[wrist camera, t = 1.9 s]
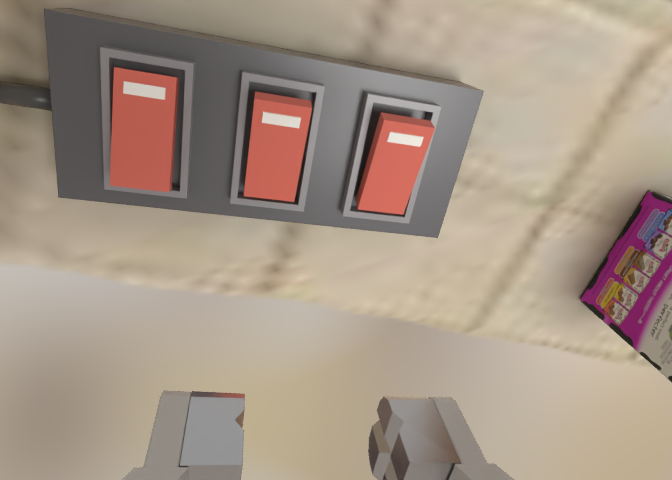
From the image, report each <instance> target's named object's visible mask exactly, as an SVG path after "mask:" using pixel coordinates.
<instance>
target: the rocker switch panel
mask: <svg viewBox="0 0 672 480" xmlns="http://www.w3.org/2000/svg"><path fill="white" fill-rule="evenodd" d="M44 14H45V27H46V41H47V54H48V67H49V80H50V89H47V88H41V87H34V86H28V85H21V84H15V83H8V82H1V81H0V103H3V104H10V105H17V106H24V107H31V108H38V109H45V110H52V119H53V133H54V146H55V159H56V172H57V185H58V197H60V198H70V199H79V200H88V201H98V202H107V203H116V204H126V205H135V206H145V207H154V208H163V209H173V210H182V211H191V212H201V213H210V214H219V215H229V216H238V217H247V218H257V219H266V220H276V221H285V222H294V223H304V224H313V225H322V226H332V227H341V228H350V229H360V230H369V231H378V232H388V233H397V234H407V235H416V236H425V237H435V238H438V236H439V233H440V229H441V226H442V223H443V220H444V217H445V213H446V210H447V207H448V204H449V201H450V197H451V194H452V191H453V188H454V185H455V181H456V178H457V175H458V172H459V169H460V165H461V162H462V159H463V156H464V153H465V149H466V146H467V143H468V140H469V137H470V134H471V130H472V127H473V124H474V121H475V118H476V114H477V111H478V108H479V105H480V102H481V98H482V95H483V92H484V91H482V90H480V89H477V88H475V87H472V86H470V85H467V84H464V83H462V82H457V81H452V80H447V79H441V78H436V77H431V76H425V75H420V74H415V73H410V72H404V71H399V70H394V69H388V68H383V67H378V66H372V65H367V64H362V63H357V62H351V61H346V60H341V59H335V58H330V57H325V56H320V55H314V54H309V53H304V52H298V51H293V50H288V49H282V48H277V47H272V46H267V45H261V44H256V43H251V42H245V41H240V40H235V39H229V38H224V37H219V36H214V35H208V34H203V33H198V32H192V31H187V30H182V29H177V28H171V27H166V26H161V25H155V24H150V23H145V22H139V21H134V20H129V19H124V18H118V17H113V16H108V15H102V14H97V13H92V12H86V11H81V10H76V9H71V8H63V9H44ZM114 67H117V68H123V69H129V70H135V71H141V72H147V73H153V74H159V75H165V76H171V77H177V78H179V90H178V105H177V120H176V135H175V150H174V165H173V179H172V190H171V191H170V192H162V191H153V190H145V189H136V188H127V187H118V186H110V164H111V136H112V108H113V79H114ZM255 91H256V92H262V93H268V94H274V95H280V96H286V97H292V98H298V99H304V100H310V101H311V104H312V112H311V117H310V122H309V127H308V133H307V138H306V143H305V148H304V153H303V159H302V164H301V169H300V174H299V179H298V185H297V190H296V195H295V200H294V202H290V201H282V200H273V199H264V198H256V197H247V196H244V186H245V177H246V168H247V159H248V150H249V141H250V133H251V124H252V115H253V106H254V97H255ZM381 112H382V113H388V114H394V115H400V116H406V117H412V118H418V119H424V120H430V121H431V122H432V124H433V126H434V127H435V130H434V133H433V135H432V138H431V141H430V143H429V146H428V149H427V152H426V154H425V157H424V160H423V162H422V165H421V168H420V170H419V173H418V176H417V179H416V181H415V184H414V187H413V189H412V192H411V195H410V197H409V200H408V203H407V205H406V208H405V211H404V214H403V215H402V214H393V213H384V212H376V211H367V210H359V209H358V208H357V204H356V197H357V193H358V190H359V187H360V183H361V180H362V176H363V173H364V169H365V166H366V162H367V159H368V155H369V152H370V148H371V145H372V141H373V138H374V134H375V131H376V128H377V124H378V121H379V117H380V114H381Z"/></svg>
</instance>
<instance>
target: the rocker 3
mask: <svg viewBox="0 0 672 480" xmlns="http://www.w3.org/2000/svg"><path fill="white" fill-rule="evenodd" d="M434 130H435V127H434V126H433V124H432V122H431V121H430V120H424V119H418V118H412V117H406V116H400V115H394V114H388V113H382V112H381V114H380V117H379V121H378V124H377V128H376V131H375V134H374V138H373V141H372V145H371V148H370V152H369V155H368V159H367V162H366V166H365V169H364V173H363V176H362V180H361V183H360V187H359V190H358V193H357V197H356V204H357V208H358V209H359V210H367V211H376V212H384V213H393V214H402V215H403V214H404V211H405V208H406V205H407V203H408V200H409V197H410V195H411V192H412V189H413V187H414V184H415V181H416V179H417V176H418V173H419V170H420V168H421V165H422V162H423V160H424V157H425V154H426V152H427V149H428V146H429V143H430V141H431V138H432V135H433V133H434Z"/></svg>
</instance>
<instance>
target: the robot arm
mask: <svg viewBox="0 0 672 480" xmlns="http://www.w3.org/2000/svg"><path fill="white" fill-rule="evenodd" d="M244 406H245V395H244V394H237V393H216V392H193V391H192V393H191V392H181V391H163V393H162V395H161V397H160V401H159V405H158V409H157V413H156V417H155V421H154V426H153V430H152V434H151V438H150V442H149V446H148V450H147V455H146V459H145V463H144V467H143V468H142V467H141V468H134V469H132V470H131V472H129V473H128V475H126V476H125V477H124V478H123V479H122V480H241V474H242V465H243V442H244V430H243V429H242V426H243V418H244V408H245V407H244ZM377 412H378V416H379V419H380V420H379V421H378V422H376V423H375V424H374V425H373V426H372V429H371V433H370V436H369V450H368V452H369V461H370V466H371V470H372V474H373V475H374V476H375V477H376V478H377V479H378V480H514V479H513V478H512V477H510V476H509V475H508V474H507V473H505V472H504V471H503V470H502V469H501V468H499V467H498V466H497V465H496V464H488V463H487V461H486V459H485V457H484V455H483V453H482V451H481V449H480V447H479V445H478V444H477V442H476V440H475V438H474V436H473V434H472V432H471V430H470V428H469V426H468V424H467V422H466V420H465V418H464V416H463V414H462V412H461V411H460V409H459V407H458V405H457V403H456V401H455V400H454V399H453V398H451V397H428V398H427V397H383V398H382V399H381V400H380V402H379V405H378V408H377Z"/></svg>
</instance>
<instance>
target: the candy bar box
mask: <svg viewBox="0 0 672 480" xmlns="http://www.w3.org/2000/svg"><path fill="white" fill-rule="evenodd" d="M580 301H581V302H582V303H583V304H585V305H586V306H587V307H588V308H589V309H590V310H591V311H592V312H593V313H594V314H595V315H597V316H598V317H599V318H600V319H601V320H603V322H604V323H605V324H607V325H608V326H609V327H610V328H611V329H613V330H614V331H615V332H616V333H617V334H618V335H619V336H620V337H621V338H622V339H624V340H625V341H626V342H627V343H628V344H629V345H631V346H632V347H633V348H634V349H635V350H636V351H637V352H638V353H639V354H641V355H642V356H643V357H644V358H645V359H646V360H648V361H649V362H650V363H651V364H652V365H653V366H654V367H655V368H657V369H658V370H659V371H660V372H661V373H662V374H663V375H664V376H665V377H666V378H667V379H669V380H670V381H671V382H672V198H670V197H668V196H665V195H662V194H659V193H656V192H653V191H649V192H648V193H647V194H646V195H645V197H644V198H643V200H642V202H641V203H640V205H639V206H638V208H637V209H636V211H635V213H634V214H633V216H632V217H631V219H630V221H629V222H628V224H627V226H626V227H625V229H624V230H623V232H622V234H621V235H620V237H619V238H618V240H617V242H616V243H615V245H614V247H613V248H612V250H611V251H610V253H609V255H608V256H607V258H606V259H605V261H604V263H603V264H602V266H601V268H600V269H599V271H598V273H597V274H596V276H595V277H594V279H593V281H592V282H591V284H590V285H589V287H588V289H587V290H586V292H585V293H584V295H583V297H582V298H581V300H580Z"/></svg>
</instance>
